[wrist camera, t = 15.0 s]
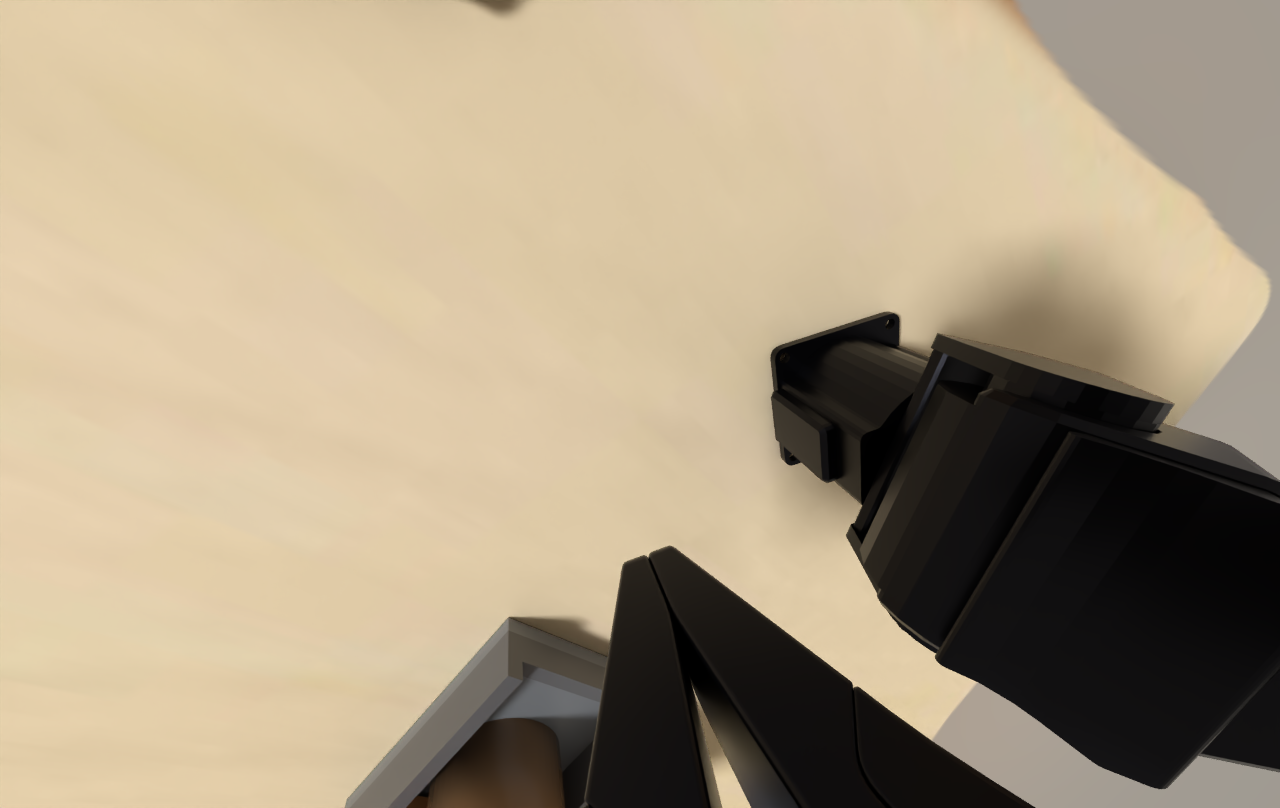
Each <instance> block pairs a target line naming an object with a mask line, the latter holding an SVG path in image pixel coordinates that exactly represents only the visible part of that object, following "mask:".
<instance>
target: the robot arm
mask: <svg viewBox="0 0 1280 808" xmlns="http://www.w3.org/2000/svg"><path fill="white" fill-rule="evenodd" d="M888 320H889V322H888V324H887V326H885V325H886V322H887V321H888ZM931 348H933V349H934V350H933V352H932V354H931V356H930V357H927V356H924V355H922V354H919V353H916V352H914V351H911V350H908V349H906V348H903V347H900V346H899V317H898V316H897V315H896V314H894V313H890V312H883V313H880V314H877V315H873V316H870V317H867V318H864V319H861V320H858V321H855V322H851V323H848V324H845V325H842V326H839V327H836V328H833V329H830V330H826V331H823V332H820V333H817V334H814V335H811V336H808V337H804V338H801V339H798V340H795V341H792V342H789V343H786V344H783V345H779V346H778V347H776V348H775V349H774V350H773V351H772V353H771V368H772V377H773V387H774V392H773V394H772V396H771V401H772V410H773V419H774V428H775V437H776V440H777V441H778V442H779V443H780V452H781V458H782V460H784V461H785V462H786V463H787V464H788V465H795V464H798V463H801V462H802V463H803V464H804V465H805V466H806V467H807V468H808V469H809V470H811V471H812V472H813V473H814V474H815V475H816V476H817V477H818V478H820V479H821V480H822V481H824V482H826V483H829V482H832V481H835V482H836V483H837V484H838V485H840V486H841V487H842V488H843V489H844V490H845V491H847V492H848V493H849V494H850V495H851V496H852V497H853V498H855V499H856V500H857V501H858V502H859V503H860V504H862V508H861V510H860V512H859V514H858V516H857V519H856V521H855V523H853V524H851V525H850V528H849V530H848V532H847V534H846V537H847V539H848V540H849V542H850V544H851V546H852V548H853V550H854V551H855V553H856V555H857V557H858V559H859V561H860V563H861V564H862V566H863V568H864V570H865V572H866V574H867V575H868V577H869V579H870V581H871V583H872V585H873V586H874V588H875V590H876V592H877V597H878V599H879V601H880V603H881V604H882V606H883V607H884V608H885V609H886V610H887V611H888V613H889V614H890V616H891V617H892V618H893V619H894V620H895V622H896V623H897V624H898V625H899V627H900V628H901V629H902V630H903V631H905V632H907V633H908V634H909V635H910V636H911V637H912V638H914V639H915V640H916V641H918V642H919V643H920V644H922V645H923V646H925V647H926V648H928V649H929V650H931V651H933V652H934V653H936V655H935V659H936V661H937V662H938V663H939V664H941V665H942V666H944V667H946V668H948V669H950V670H952V671H954V672H957V673H959V674H961V675H963V676H965V677H968V678H970V679H972V680H974V681H976V682H979V683H980V684H982V685H984V686H985V687H987V688H989V689H990V690H992V691H994V692H995V693H997V694H999V695H1000V696H1002V697H1004V698H1006V699H1007V700H1009V701H1011V702H1012V703H1014V704H1015V705H1017V706H1018V707H1020V708H1021V709H1022V710H1024V711H1025V712H1027V713H1028V714H1029V715H1031V716H1032V717H1034V718H1035V719H1037V720H1038V721H1039V722H1041V723H1042V724H1043V725H1045V726H1046V727H1047V728H1048V729H1050V730H1051V731H1052V732H1054V733H1055V734H1056V735H1058V736H1059V737H1060V738H1062V739H1063V740H1064V741H1066V742H1067V743H1068V744H1069V745H1071V746H1072V747H1073V748H1075V749H1076V750H1077V751H1079V752H1080V753H1081V754H1083V755H1084V756H1085V757H1087V758H1088V759H1089V760H1091V761H1092V762H1094V763H1095V764H1097V765H1098V766H1100V767H1102V768H1104V769H1107V770H1109V771H1112V772H1114V773H1117V774H1119V775H1122V776H1125V777H1127V778H1130V779H1132V780H1135V781H1137V782H1140V783H1142V784H1145V785H1147V786H1150V787H1153V788H1158V789H1166V788H1168V787H1169V786H1170V785H1171V784H1172V783H1173V782H1174V780H1176V779H1177V777H1178V776H1179V775H1180V774H1181V773H1182V772H1183V771H1184V770H1185V769H1186V768H1187V767H1188V766H1189V765H1190V764H1191V763H1192V762H1193V761H1194V760H1195V759H1196V758H1197V756H1203V757H1207V758H1212V759H1217V760H1222V761H1227V762H1232V763H1236V764H1241V765H1246V766H1251V767H1256V768H1261V769H1266V770H1271V771H1276V772H1280V480H1278V479H1277V478H1275V477H1274V476H1273V475H1271V474H1270V473H1269V472H1267V471H1266V470H1264V469H1263V468H1262V467H1260V466H1259V465H1257V464H1256V463H1255V462H1253V461H1252V460H1250V459H1249V458H1248V457H1246V456H1245V455H1243V454H1242V453H1240V452H1239V451H1238V450H1236V449H1235V448H1233V447H1232V446H1230V445H1228V444H1225V443H1223V442H1221V441H1217V440H1214V439H1211V438H1208V437H1205V436H1201V435H1198V434H1195V433H1192V432H1188V431H1186V430H1183V429H1179V428H1176V427H1173V426H1170V425H1167V424H1164V423H1162V422H1163V421H1164V419H1165V418H1166V416H1167V415H1168V413H1169V412H1170V410H1171V409H1172V407H1173V406H1174V403H1172V402H1170V401H1168V400H1165V399H1163V398H1161V397H1158V396H1156V395H1153V394H1151V393H1148V392H1146V391H1143V390H1141V389H1138V388H1136V387H1133V386H1131V385H1128V384H1126V383H1123V382H1121V381H1118V380H1116V379H1113V378H1111V377H1108V376H1106V375H1103V374H1101V373H1098V372H1095V371H1091V370H1088V369H1084V368H1080V367H1077V366H1073V365H1070V364H1066V363H1062V362H1059V361H1055V360H1052V359H1048V358H1044V357H1041V356H1037V355H1034V354H1030V353H1026V352H1022V351H1017V350H1012V349H1008V348H1003V347H999V346H994V345H989V344H985V343H980V342H975V341H971V340H966V339H962V338H957V337H952V336H948V335H943V334H938V333H937V336H936V338H935V340H934V342H933V344H932V347H931ZM783 353H785V357H784V359H783V360H781V361H780V356H781V355H782V354H783ZM791 454H793V455H792V456H791V457H790V455H791ZM691 683H692V684H691ZM692 686H693V687H692ZM693 688H694V691H695V693H696V695H697V698H698V700H699V702H700V704H701V706H702V708H703V711H704V713H705V715H706V717H707V719H708V721H709V723H710V725H711V727H712V729H713V731H714V733H715V735H716V737H717V739H718V741H719V743H720V745H721V747H722V749H723V751H724V753H725V755H726V757H727V759H728V761H729V763H730V765H731V767H732V769H733V771H734V773H735V775H736V777H737V779H738V782H739V784H740V786H741V788H742V790H743V792H744V794H745V796H746V798H747V800H748V802H749V804H750V806H751V808H1035V807H1033V806H1032V805H1030V804H1029V803H1027V802H1026V801H1024V800H1022V799H1021V798H1019V797H1018V796H1016V795H1014V794H1013V793H1011V792H1010V791H1008V790H1007V789H1005V788H1003V787H1002V786H1000V785H999V784H997V783H995V782H994V781H992V780H991V779H989V778H988V777H986V776H985V775H983V774H981V773H980V772H978V771H977V770H975V769H974V768H972V767H971V766H969V765H968V764H966V763H965V762H963V761H962V760H960V759H958V758H957V757H955V756H954V755H952V754H951V753H949V752H948V751H946V750H945V749H943V748H942V747H940V746H939V745H937V744H935V743H934V742H933V741H931V740H930V739H929V738H927V737H926V736H924V735H923V734H922V733H920V732H919V731H917V730H916V729H915V728H913V727H912V726H910V725H909V724H908V723H906V722H905V721H904V720H902V719H901V718H899V717H898V716H897V715H895V714H894V713H892V712H891V711H890V710H888V709H887V708H886V707H884V706H883V705H882V704H880V703H879V702H878V701H876V700H875V699H874V698H872V697H871V696H870V695H869V694H867V693H866V692H865V691H863V690H862V689H861V688H859V687H854V688H853V684H852V682H851V681H850V680H848V679H847V678H846V677H844V676H843V675H842V674H840V673H839V672H838V671H837V670H835V669H834V668H833V667H831V666H830V665H829V664H827V663H826V662H825V661H823V660H822V659H821V658H819V657H818V656H817V655H815V654H814V653H813V652H812V651H810V650H809V649H808V648H806V647H805V646H804V645H802V644H801V643H800V642H798V641H797V640H796V639H794V638H793V637H792V636H790V635H789V634H788V633H786V632H785V631H784V630H783V629H781V628H780V627H779V626H777V625H776V624H775V623H773V622H772V621H771V620H769V619H768V618H767V617H765V616H764V615H763V614H761V613H760V612H759V611H758V610H756V609H755V608H754V607H752V606H751V605H750V604H748V603H747V602H746V601H744V600H743V599H742V598H740V597H739V596H738V595H736V594H735V593H734V592H733V591H731V590H730V589H729V588H727V587H726V586H725V585H723V584H722V583H721V582H719V581H718V580H717V579H715V578H714V577H713V576H711V575H710V574H709V573H707V572H706V571H705V570H704V569H702V568H701V567H700V566H698V565H697V564H696V563H694V562H693V561H692V560H690V559H689V558H688V557H686V556H685V555H684V554H682V553H681V552H680V551H679V550H677V549H676V548H674V547H673V546H667V547H664V548H661V549H659V550H656V551H653V552H651V553H650V554H649V558H648V557H647V556H645V555H643V556H640V557H637V558H634V559H632V560H629V561H627V562H625V563H624V564H623V566H622V571H621V577H620V583H619V589H618V595H617V601H616V608H615V614H614V620H613V626H612V632H611V638H610V644H609V650H608V656H607V663H606V669H605V675H604V681H603V687H602V693H601V699H600V705H599V711H598V718H597V724H596V730H595V736H594V742H593V748H592V754H591V760H590V766H589V773H588V779H587V785H586V791H585V797H584V801H585V803H586V806H584V807H583V808H722V805H721V801H720V796H719V792H718V788H717V784H716V780H715V776H714V771H713V767H712V763H711V759H710V755H709V750H708V746H707V742H706V738H705V734H704V730H703V725H702V721H701V717H700V713H699V709H698V705H697V702H696V698H695V694H694V691H693Z"/></svg>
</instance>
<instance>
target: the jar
mask: <svg viewBox="0 0 1280 808" xmlns="http://www.w3.org/2000/svg"><path fill="white" fill-rule="evenodd" d="M427 808H565V801H564V790H563V779H562V767H561V756H560V745H559V740H558V737H557V735H556V734H555V732H554V731H553V730H552V729H551V728H549V727H548V726H547V725H545V724H543V723H541V722H538V721H535V720H531V719H525V718H504V719H497V720H492V721H488V722H485V723H483V724H482V726H481V727H480V728H479V729H478V730H477V731H476V732H475V733H474V734H473V735H472V736H471V738H470V739H469V740H468V741H467V742H466V743H465V744H464V745H463V746H462V747H461V748H460V749H459V751H458V752H457V753H456V754H455V755H454V756H453V757H452V758H451V759H450V760H449V761H448V762H447V764H446V765H445V766H444V767H443V768H442V769H441V770H440V771H439V772H438V773H437V774H436V776H435V777H434V778H433V779H432V780H431V781H430V789H429V796H428V803H427Z"/></svg>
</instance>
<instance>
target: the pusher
mask: <svg viewBox="0 0 1280 808" xmlns="http://www.w3.org/2000/svg"><path fill="white" fill-rule="evenodd" d="M427 803H428V797H422V796H416V797H415V798H414V799H413V800H412V802H411V803H410V804H409V805H408V806H407V807H406V808H427Z"/></svg>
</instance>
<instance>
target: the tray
mask: <svg viewBox="0 0 1280 808" xmlns="http://www.w3.org/2000/svg"><path fill="white" fill-rule="evenodd" d="M606 663H607V657H606V656H603V655H601V654H598V653H596V652H593V651H591V650H588V649H586V648H583V647H581V646H578V645H576V644H573V643H571V642H568V641H566V640H563V639H561V638H558V637H556V636H553V635H551V634H548V633H546V632H543V631H541V630H538V629H536V628H533V627H531V626H528V625H526V624H523V623H521V622H518V621H516V620H513V619H511V618H508V619H507V620H506V621H505V622H504V623H503V624H502V625H501V626H500V628H499V629H498V630H497V631H496V632H495V633H494V634H493V636H492V637H491V638H490V639H489V640H488V641H487V642H486V643H485V645H484V646H483V647H482V648H481V649H480V650H479V651H478V652H477V654H476V655H475V656H474V657H473V658H472V659H471V660H470V661H469V663H468V664H467V665H466V666H465V667H464V668H463V669H462V670H461V672H460V673H459V674H458V675H457V676H456V677H455V678H454V679H453V681H452V682H451V683H450V684H449V685H448V686H447V687H446V688H445V690H444V691H443V692H442V693H441V694H440V695H439V696H438V697H437V699H436V700H435V701H434V702H433V703H432V704H431V705H430V706H429V708H428V709H427V710H426V711H425V712H424V713H423V714H422V716H421V717H420V718H419V719H418V720H417V721H416V722H415V723H414V725H413V726H412V727H411V728H410V729H409V730H408V731H407V732H406V734H405V735H404V736H403V737H402V738H401V739H400V740H399V741H398V743H397V744H396V745H395V746H394V747H393V748H392V749H391V750H390V752H389V753H388V754H387V755H386V756H385V757H384V758H383V759H382V761H381V762H380V763H379V764H378V765H377V766H376V767H375V768H374V770H373V771H372V772H371V773H370V774H369V775H368V776H367V777H366V779H365V780H364V781H363V782H362V783H361V784H360V785H359V786H358V788H357V789H356V790H355V791H354V792H353V793H352V794H351V795H350V797H349V798H348V799H347V801H346V805H345V808H406V807H407V806H408V805H409V804H410V803H411V802H412V800H413V799H414V798H415V797H416V796H422V797H428V796H429V789H430V781H431V780H432V779H433V778H434V777H435V776H436V774H437V773H438V772H439V771H440V770H441V769H442V768H443V767H444V766H445V765H446V764H447V762H448V761H449V760H450V759H451V758H452V757H453V756H454V755H455V754H456V753H457V752H458V751H459V749H460V748H461V747H462V746H463V745H464V744H465V743H466V742H467V741H468V740H469V739H470V738H471V736H472V735H473V734H474V733H475V732H476V731H477V730H478V729H479V728H480V727H481V726H482V724H483V723H485V722H488V721H492V720H497V719H504V718H525V719H531V720H535V721H538V722H541V723H543V724H545V725H547V726H548V727H549V728H551V729H552V730H553V731H554V732H555V734H556V735H557V737H558V740H559V745H560V756H561V767H562V779H563V790H564V801H565V808H583V807H584V806H586V803H585V801H584V797H585V791H586V785H587V779H588V773H589V766H590V760H591V754H592V748H593V742H594V736H595V730H596V724H597V718H598V711H599V705H600V699H601V693H602V687H603V681H604V675H605V669H606Z"/></svg>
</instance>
